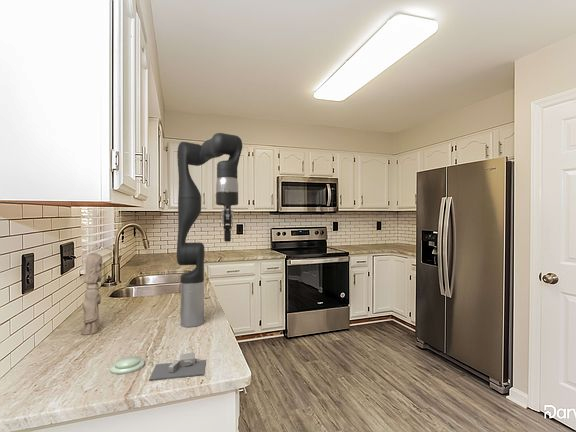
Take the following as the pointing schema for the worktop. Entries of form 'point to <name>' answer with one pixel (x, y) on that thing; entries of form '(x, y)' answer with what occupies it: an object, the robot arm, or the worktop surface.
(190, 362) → the lighter
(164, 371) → the mat
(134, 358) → the dish
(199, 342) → the worktop surface
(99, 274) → the sculpture
